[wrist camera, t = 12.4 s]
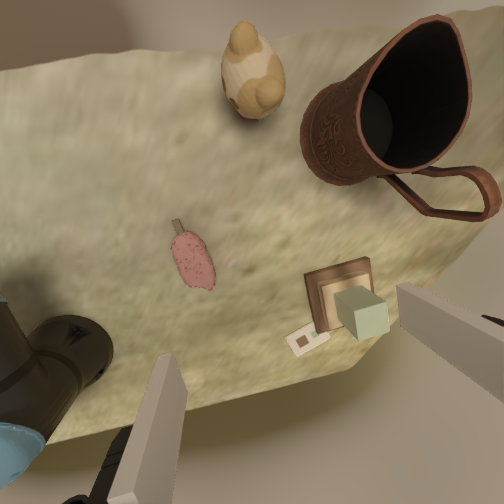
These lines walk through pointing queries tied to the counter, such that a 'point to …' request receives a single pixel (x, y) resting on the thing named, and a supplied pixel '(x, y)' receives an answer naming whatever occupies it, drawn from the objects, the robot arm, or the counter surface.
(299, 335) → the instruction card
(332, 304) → the base brick
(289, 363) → the counter surface
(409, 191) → the cup holder
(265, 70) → the toy
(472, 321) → the robot arm
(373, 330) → the sage brick
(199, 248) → the ice cream bar
